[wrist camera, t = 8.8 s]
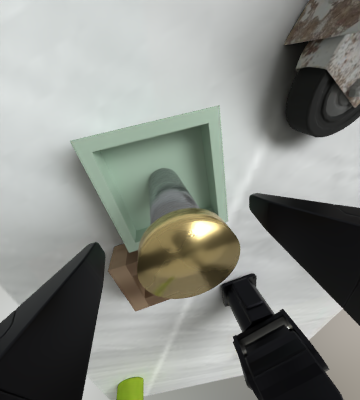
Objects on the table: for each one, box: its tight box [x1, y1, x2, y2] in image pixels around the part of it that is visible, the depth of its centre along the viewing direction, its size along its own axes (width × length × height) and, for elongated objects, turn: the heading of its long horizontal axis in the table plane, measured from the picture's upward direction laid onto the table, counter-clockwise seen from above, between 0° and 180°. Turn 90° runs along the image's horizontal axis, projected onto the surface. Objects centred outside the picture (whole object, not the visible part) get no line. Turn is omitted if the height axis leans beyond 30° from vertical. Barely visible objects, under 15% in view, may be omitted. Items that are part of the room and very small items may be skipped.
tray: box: [70, 105, 228, 253], centre depth 15 cm, size 11×11×3 cm
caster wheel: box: [284, 0, 360, 137], centre depth 12 cm, size 7×11×10 cm
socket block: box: [108, 244, 169, 311], centre depth 19 cm, size 8×8×4 cm
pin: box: [137, 168, 240, 299], centre depth 11 cm, size 4×4×10 cm
